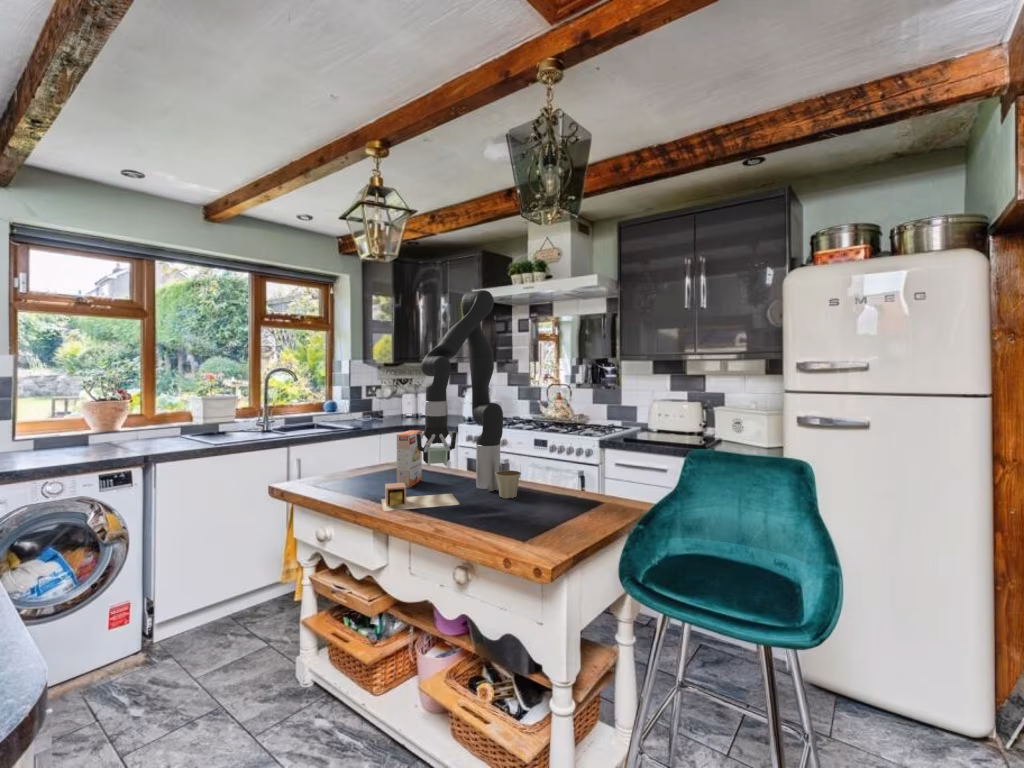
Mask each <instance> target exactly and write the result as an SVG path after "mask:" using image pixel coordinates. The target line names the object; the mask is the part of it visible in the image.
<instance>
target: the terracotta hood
mask: <svg viewBox="0 0 1024 768" xmlns="http://www.w3.org/2000/svg"><path fill="white" fill-rule="evenodd" d="M389 490H401V491H402V500H403V502H404V504H405V505H406V497H407V488H406V486H405V484H404V483H397V482H393V483H385V484H384V499H385V502H386V506H388V501H389Z"/></svg>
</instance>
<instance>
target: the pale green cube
mask: <svg viewBox="0 0 1024 768" xmlns="http://www.w3.org/2000/svg"><path fill="white" fill-rule="evenodd" d="M427 452H428V463H425V464H426V466H427V467H428V468H431V465H433V464H443V465H444V466H445V467H448V462H447V448H445V447H444V445H437V446H436V445H433V446H431V445H430V447H429V449H428V451H427Z"/></svg>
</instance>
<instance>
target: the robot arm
mask: <svg viewBox="0 0 1024 768" xmlns="http://www.w3.org/2000/svg"><path fill="white" fill-rule="evenodd" d="M494 303H495V301H494V296H493V294H492V293H491V292H489V291H488V290H486V289H485V290H484V289H482V290H480V289H479V290H473V291H467V292H465V293H464V294H463V295H462V298H461V310H462V311H461V312H462V318H461V319H460V320H459V321H457V322H456V323H455V324H454V325H452V327H450V328H449V329H448V330H447V332H446V333H445V335H444V336H443V337H442V339H441V340H440V342H439V343H438V344H437V345H436V346H435V347H434V348H432V349H431V351H429V352H428V353H427V354H426V355H425V356H424V358H423V360H422V361H421V365H420V369H421V372H422V373H423V374H424V375H425V376H427V377H433V380H432V383H429V384H427V385H426V387H425V406H424V409H425V410H424V412H425V413H424V420H425V421H424V422H425V424H424V425H425V426H424V427H425V428H424V431H423V432H422V433H416V439H417V448H418V450H419V451H422V460H423V462H424V463H425V464H426V463H428V452H427V451H428V449H429V447H431V445H435V444H442V446H444V447H445V448H447V463H448V462H449V461H450V459H451V456H450V455H451V451H452V450H454V449H456V444H457V432H456V431H454V430H453V431H449V430H448V413H449V412H448V405H447V387H448V384H449V379H450V376H451V371H452V365H451V362H450V360H449V359H452V358H454V357H455V356H456V355H457V354H458V352H459V350H460V349H461V348H462V346H463V344H464V343H465V341H466V340H467V349H468V364H469V371H470V380H471V381H470V382H471V413H472V420H473V421H474V422H475V424H477V425H479V426H482V428H481V429H482V430H481V433H480V435H477V436H476V441H475V444H476V445H475V447H476V449H475V450H476V453H475V454H476V455H475V456H476V458H475V463H476V466H475V467H476V469H475V471H476V473H475V476H476V479H475V480H476V481H475V485H476V488H477V489H480V490H486V491H487V492H495V491H494V490H496V491H499V488H498V480H497V477H496V474H495V473H496V472H498V471H503V464H501V440H502V437H503V431H504V430H503V429H504V412H503V408H502V407H501V405H500V404H498V403H496V402H491V401H490V396H489V395H490V394H489V389H490V388H489V387H490V383H491V381H492V377H493V373H494V368H495V362H494V361H495V360H494V352H493V351H494V350H493V347H492V346H491V343H490V342H489V340H488V339H487V337H486V336H485V335H486V334H485V333H484V332H483V329H482V326H481V323H482V321H484V319H486V317H487V316H488V315H489V314H490V313H491V312H492V310H493V308H494V305H495V304H494ZM448 436H449V437H450V438H451V439H450V445H449V444H448V442H447V441H446V439H447V437H448ZM424 437H425V438H426V442H424V443H425V444H424V446H422V445H423V444H422V445H421V439H422V440H423V439H424Z"/></svg>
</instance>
